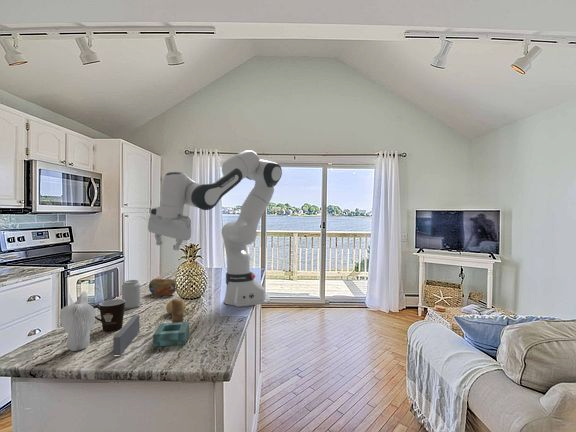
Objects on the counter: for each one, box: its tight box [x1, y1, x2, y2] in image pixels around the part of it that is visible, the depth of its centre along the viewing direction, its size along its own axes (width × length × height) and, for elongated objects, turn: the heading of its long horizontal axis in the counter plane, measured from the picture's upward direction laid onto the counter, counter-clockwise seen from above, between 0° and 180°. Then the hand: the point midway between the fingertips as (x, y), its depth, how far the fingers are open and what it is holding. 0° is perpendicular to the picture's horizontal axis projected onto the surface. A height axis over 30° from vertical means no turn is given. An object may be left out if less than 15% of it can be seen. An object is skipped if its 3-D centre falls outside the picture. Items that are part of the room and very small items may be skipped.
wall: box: [112, 314, 140, 356], centre depth 105 cm, size 2×20×6 cm, turn 10°
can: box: [121, 279, 141, 310], centre depth 143 cm, size 8×8×12 cm
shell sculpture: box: [59, 290, 97, 352], centre depth 101 cm, size 8×8×18 cm
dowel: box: [171, 298, 184, 323], centre depth 120 cm, size 4×4×10 cm
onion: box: [165, 297, 187, 316], centre depth 135 cm, size 8×8×7 cm
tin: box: [148, 278, 177, 296], centre depth 164 cm, size 15×3×8 cm, turn 77°
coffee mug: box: [93, 298, 125, 333], centre depth 118 cm, size 12×9×10 cm
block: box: [152, 321, 190, 347], centre depth 108 cm, size 10×10×4 cm
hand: (167, 247), depth 122 cm, fingers open, 8 cm apart
